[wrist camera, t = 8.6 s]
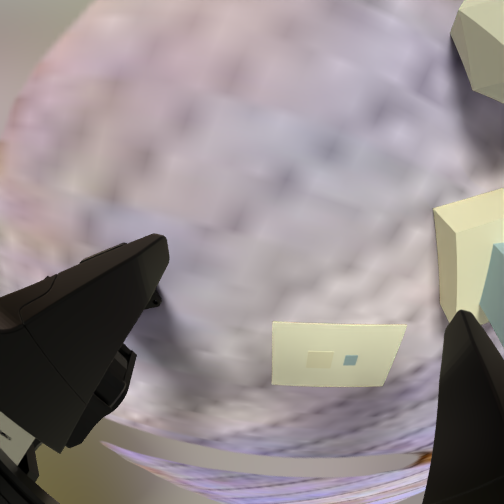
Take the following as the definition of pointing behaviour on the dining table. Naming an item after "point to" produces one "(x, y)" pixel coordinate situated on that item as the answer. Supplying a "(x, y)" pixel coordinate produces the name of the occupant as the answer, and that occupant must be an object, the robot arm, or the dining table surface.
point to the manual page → (333, 353)
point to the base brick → (467, 250)
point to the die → (482, 45)
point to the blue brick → (495, 291)
